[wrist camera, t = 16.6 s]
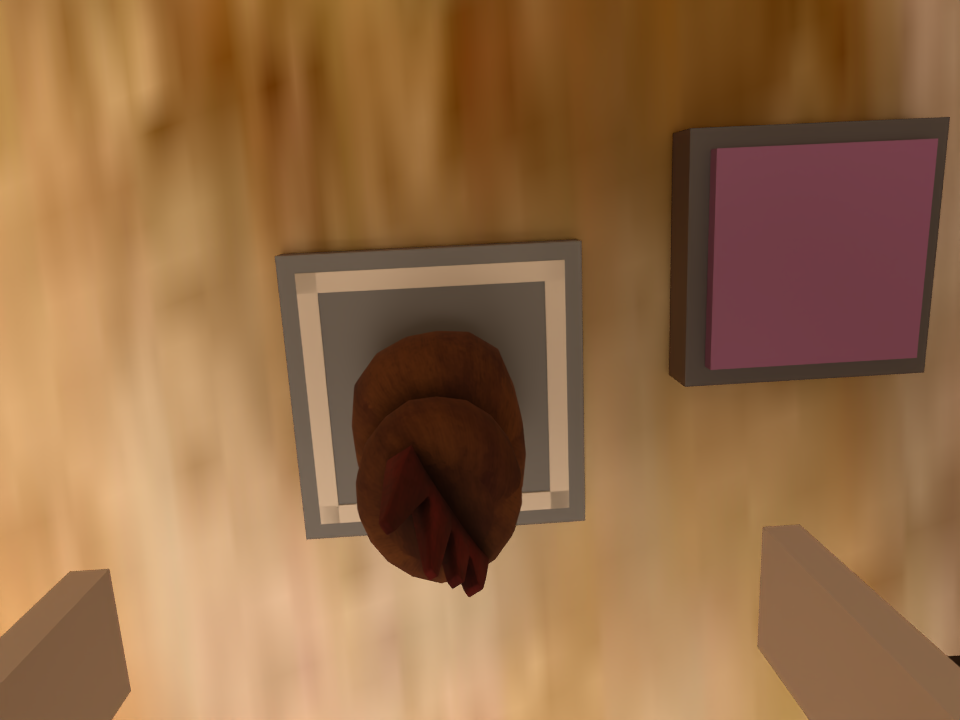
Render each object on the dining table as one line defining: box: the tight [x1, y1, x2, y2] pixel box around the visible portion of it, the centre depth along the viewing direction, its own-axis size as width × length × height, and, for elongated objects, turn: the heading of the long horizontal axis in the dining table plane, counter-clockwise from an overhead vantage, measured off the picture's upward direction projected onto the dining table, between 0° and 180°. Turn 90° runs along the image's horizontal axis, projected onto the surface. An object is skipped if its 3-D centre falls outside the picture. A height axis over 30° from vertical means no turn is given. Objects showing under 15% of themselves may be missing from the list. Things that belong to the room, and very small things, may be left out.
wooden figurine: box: [352, 331, 526, 597], centre depth 21 cm, size 7×6×15 cm
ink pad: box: [669, 117, 950, 387], centre depth 28 cm, size 10×10×3 cm
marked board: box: [275, 239, 585, 539], centre depth 29 cm, size 12×12×1 cm
